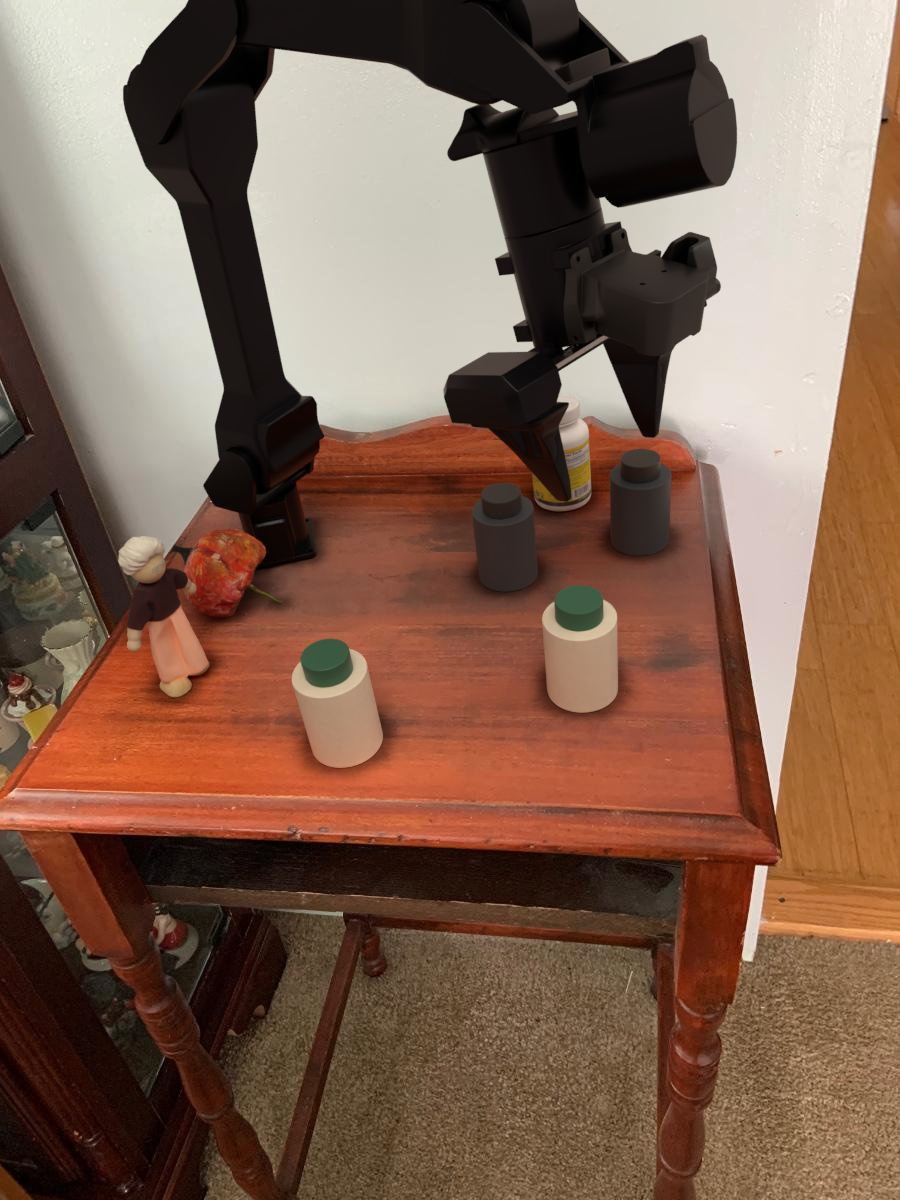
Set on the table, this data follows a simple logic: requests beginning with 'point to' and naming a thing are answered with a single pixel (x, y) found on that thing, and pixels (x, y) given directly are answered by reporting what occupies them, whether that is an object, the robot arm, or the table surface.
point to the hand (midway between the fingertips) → (609, 467)
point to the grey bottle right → (640, 503)
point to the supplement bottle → (570, 460)
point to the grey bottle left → (505, 538)
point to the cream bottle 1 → (337, 704)
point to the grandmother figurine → (161, 615)
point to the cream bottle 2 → (581, 650)
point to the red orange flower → (222, 570)
